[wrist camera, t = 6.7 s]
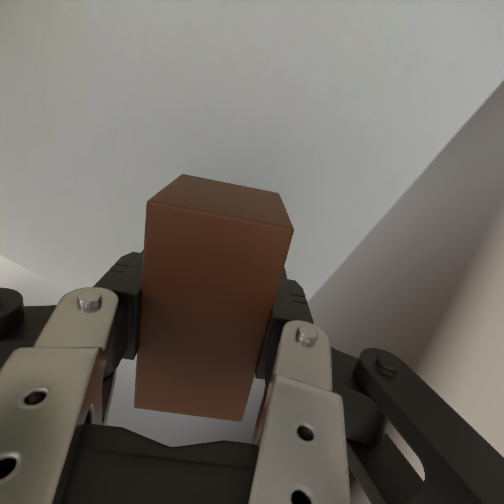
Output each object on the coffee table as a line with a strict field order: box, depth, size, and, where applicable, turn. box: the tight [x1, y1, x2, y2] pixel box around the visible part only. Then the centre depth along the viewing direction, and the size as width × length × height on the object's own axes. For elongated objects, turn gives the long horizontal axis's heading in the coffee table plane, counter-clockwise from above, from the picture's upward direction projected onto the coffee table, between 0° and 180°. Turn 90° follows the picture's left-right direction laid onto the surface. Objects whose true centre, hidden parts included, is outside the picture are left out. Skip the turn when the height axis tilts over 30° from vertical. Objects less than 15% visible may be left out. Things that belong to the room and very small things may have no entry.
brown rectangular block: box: [134, 174, 294, 422], centre depth 10 cm, size 4×7×4 cm, turn 169°
